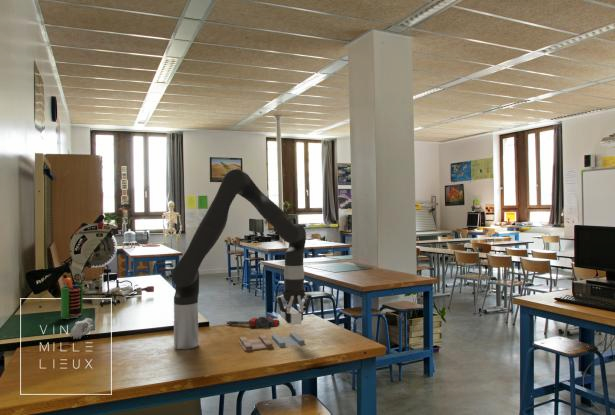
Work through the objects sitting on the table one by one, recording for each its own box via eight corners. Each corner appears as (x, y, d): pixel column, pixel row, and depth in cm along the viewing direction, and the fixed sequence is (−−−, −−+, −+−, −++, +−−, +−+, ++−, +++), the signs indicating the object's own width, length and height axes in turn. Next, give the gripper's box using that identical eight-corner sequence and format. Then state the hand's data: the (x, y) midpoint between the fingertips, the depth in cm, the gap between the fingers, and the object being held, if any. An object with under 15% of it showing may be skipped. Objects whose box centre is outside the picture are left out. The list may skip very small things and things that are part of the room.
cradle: (273, 352, 170) (273, 343, 170) (245, 355, 167) (245, 347, 167) (265, 342, 183) (265, 334, 183) (238, 345, 179) (238, 337, 179)
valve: (287, 328, 211) (275, 332, 197) (237, 327, 219) (222, 330, 205) (287, 314, 212) (275, 317, 198) (237, 313, 220) (222, 316, 206)
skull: (62, 334, 187) (75, 310, 196) (73, 346, 193) (85, 321, 202) (79, 334, 186) (91, 309, 195) (89, 345, 192) (101, 321, 200)
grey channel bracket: (305, 347, 175) (305, 340, 175) (278, 351, 171) (278, 343, 171) (296, 339, 186) (296, 332, 186) (270, 342, 183) (270, 334, 183)
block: (301, 324, 168) (301, 313, 168) (291, 325, 167) (291, 314, 167) (290, 315, 181) (290, 305, 181) (280, 316, 180) (280, 306, 180)
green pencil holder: (74, 320, 222) (74, 279, 222) (56, 320, 222) (56, 279, 222) (85, 315, 232) (84, 276, 232) (67, 315, 232) (67, 276, 232)
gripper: (308, 274, 176) (308, 318, 176) (273, 276, 171) (273, 321, 171) (315, 277, 169) (315, 323, 169) (278, 279, 164) (278, 326, 164)
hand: (294, 322), depth 170 cm, fingers closed on block, 4 cm apart
